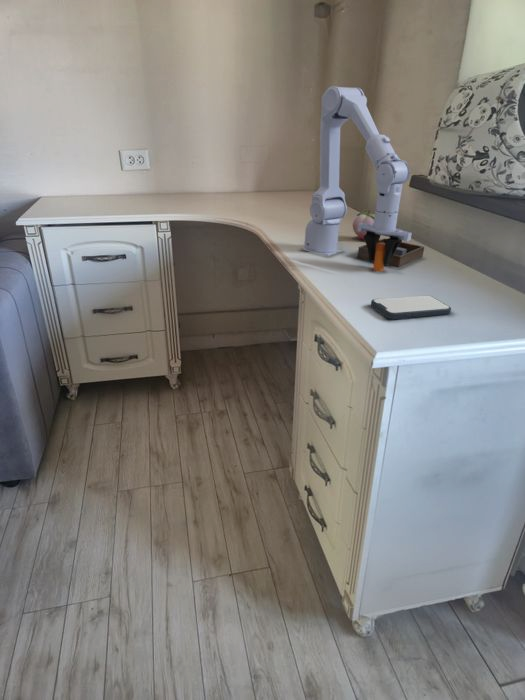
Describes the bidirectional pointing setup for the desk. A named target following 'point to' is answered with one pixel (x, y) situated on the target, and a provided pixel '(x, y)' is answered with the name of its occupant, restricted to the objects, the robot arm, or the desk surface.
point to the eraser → (400, 251)
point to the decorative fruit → (362, 218)
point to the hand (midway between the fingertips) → (379, 262)
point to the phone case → (410, 307)
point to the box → (397, 261)
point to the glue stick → (379, 257)
